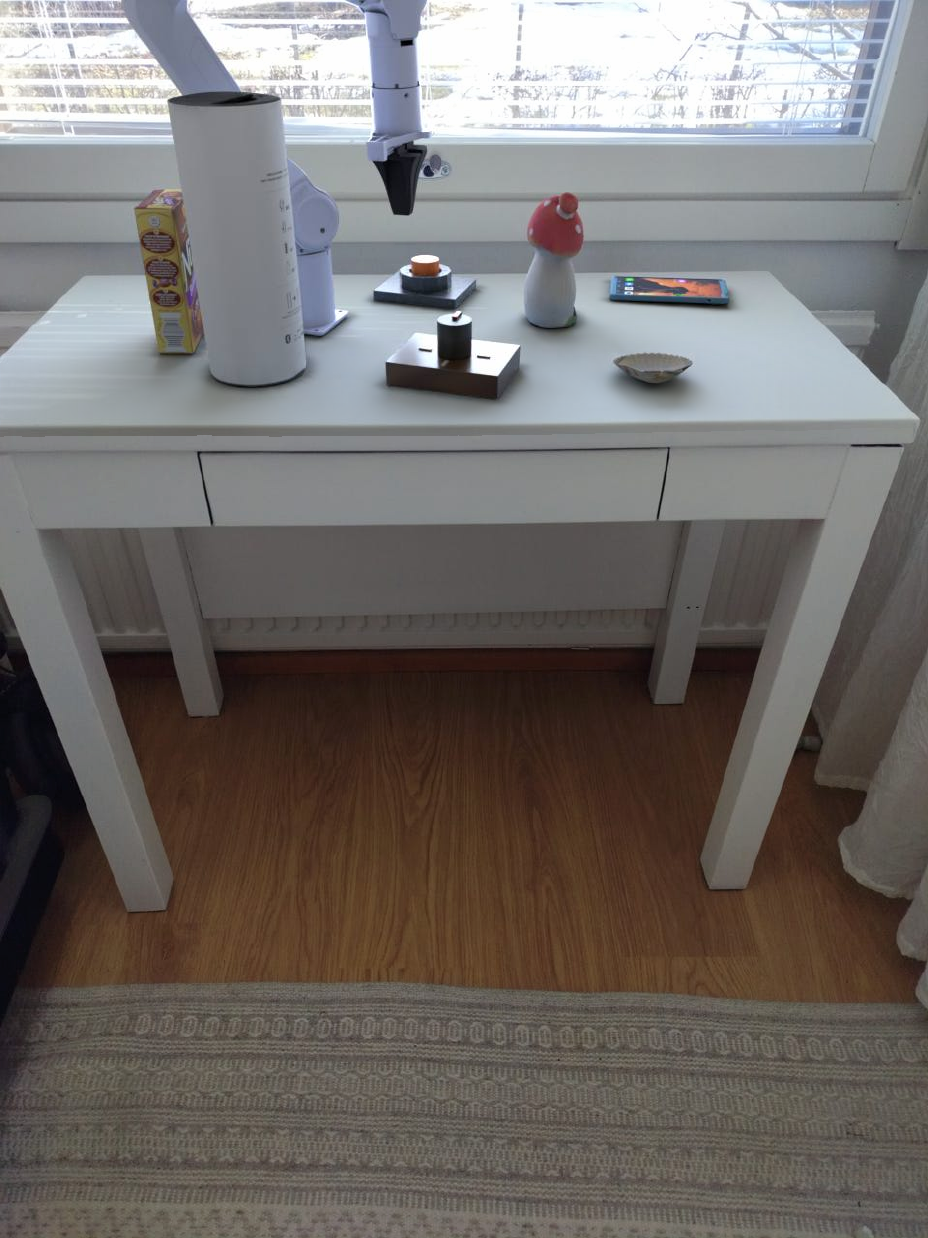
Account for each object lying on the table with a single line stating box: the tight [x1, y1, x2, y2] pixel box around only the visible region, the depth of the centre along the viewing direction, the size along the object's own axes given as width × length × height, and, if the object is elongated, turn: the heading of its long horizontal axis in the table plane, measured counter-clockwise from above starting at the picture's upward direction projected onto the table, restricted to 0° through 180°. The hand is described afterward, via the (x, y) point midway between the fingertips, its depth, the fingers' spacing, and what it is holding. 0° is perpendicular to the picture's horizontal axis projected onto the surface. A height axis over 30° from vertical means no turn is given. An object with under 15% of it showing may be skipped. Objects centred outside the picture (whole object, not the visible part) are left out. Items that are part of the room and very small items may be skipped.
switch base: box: [372, 263, 477, 310], centre depth 119 cm, size 11×9×3 cm
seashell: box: [612, 352, 693, 384], centre depth 97 cm, size 8×3×8 cm
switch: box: [410, 254, 440, 275], centre depth 117 cm, size 4×4×2 cm
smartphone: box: [608, 275, 730, 306], centre depth 120 cm, size 8×1×15 cm
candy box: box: [133, 188, 204, 355], centre depth 101 cm, size 9×4×15 cm, turn 2°
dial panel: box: [384, 332, 521, 401], centre depth 97 cm, size 12×9×3 cm
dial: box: [436, 310, 473, 359], centre depth 95 cm, size 4×4×4 cm
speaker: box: [166, 91, 307, 388], centre depth 91 cm, size 11×10×26 cm
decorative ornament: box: [523, 192, 585, 329], centre depth 107 cm, size 9×6×15 cm
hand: (402, 213), depth 111 cm, fingers closed
